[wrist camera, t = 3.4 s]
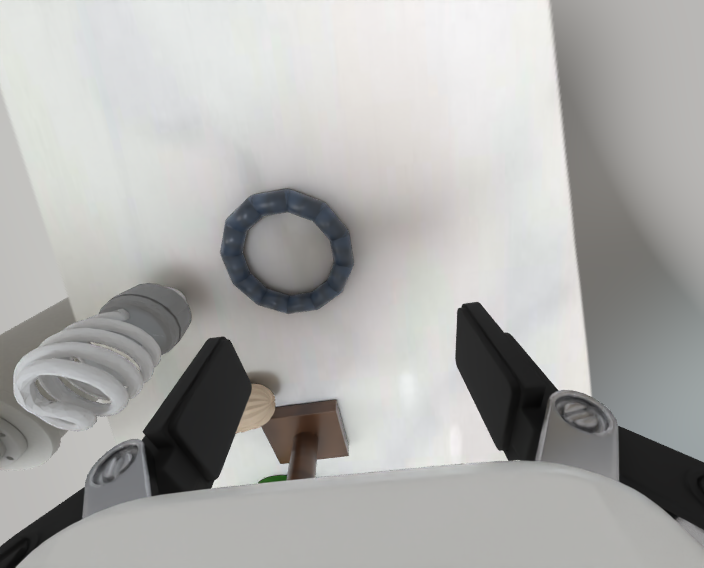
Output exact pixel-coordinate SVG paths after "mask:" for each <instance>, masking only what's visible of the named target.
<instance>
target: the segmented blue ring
mask: <svg viewBox="0 0 704 568" xmlns="http://www.w3.org/2000/svg"><path fill="white" fill-rule="evenodd" d="M285 212H289V213H292V214H295V215H297V216H300V217H303V218H306V219H308V220H311V221H313V222H314V223H315V224H316V225H317V226H318V227H319V228H320V230H321V231H322V232H323V233H324V234H325V235H326V236H327V237H328V239H329V240H330V243H331V248H332V253H333V258H334V264H333V266H332V269H331V272H330V274H329V277H328V279H327V281H326V282H324V283H323V284H322V285H320V286H319V287H318V288H316V289H315V290H314V291H312V292H310V293H304V294H297V295H286V294H283V293H280V292H276V291H273V290H270V289H267V288H266V287H265V286H264V285H263V284H262V283H261V282H260V281H259V280H257V279H256V278H255V277H254V276H253V275H252V274H251V273H250V271H249V268H248V265H247V263H246V260H245V257H244V255H243V248H244V243H245V238H246V233H247V231H248V230H249V229H250V228H251V227H252V226H253V225H254V224H255V223H257V222H258V221H259V220H260V219H261V218H262V217H263V216H267V215H273V214H279V213H285ZM220 254H221V257H222V259H223V261H224V264H225V266H226V269H227V271H228V273H229V276H230V278H231V281H232V283H233V284H234V285H235V286H236V287H237V288H238V289H240V290H241V291H242V292H243V293H244V294H245V295H247V296H248V297H249V298H250V299H251V300H252V301H254V302H255V303H256V304H257V305H260V306H263V307H266V308H270V309H273V310H277V311H280V312H283V313H287V314H291V313H297V312H304V311H311V310H317V309H319V308H321V307H322V306H324V305H325V304H326V303H328V302H329V301H331V300H332V299H333V298H335V297H336V296H338V295H339V294H340V293H341V292H342V291H343V289H344V287H345V285H346V282H347V280H348V277H349V275H350V273H351V270H352V268H353V266H354V259H353V253H352V247H351V241H350V235H349V231H348V229H347V228H346V227H345V226H344V224H343V223H342V222H341V221H340V220H339V218H338V217H337V216H336V215H335V214H334V213H333V211H332V210H331V209H330V208H329V207H328V205H327V204H326V203H324V202H322V201H320V200H317V199H315V198H312V197H309V196H307V195H304V194H302V193H299V192H296V191H294V190H291V189H283V190H278V191H272V192H266V193H260V194H254V195H251V196H250V197H249V198H247V199H246V200H245V201H244V202H243V203H242V204H241V205H240V206H239V207H238V208H237V209H236V210H235V211H234V212H233V213H232V214H231V215H230V216H229V217H228V218H227V219H226V221H225V226H224V232H223V238H222V244H221V251H220Z"/></svg>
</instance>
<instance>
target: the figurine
mask: <svg viewBox="0 0 704 568" xmlns="http://www.w3.org/2000/svg"><path fill="white" fill-rule="evenodd" d="M251 385H252V391H251V395H250V397H249V400H248V402H247V405H246V408H245V410H244V413H243V415H242V418H241V421H240V423H239V426H238V428H237V431H236V434H237V433H239V432H245V431H248V430H251V429H256V428H259V427H261V426H263V425H264V424H266V423H267V422H268V421H269V420H270V418H271V417H272V415H273V414H274V411H275V405H276V404H275V402H274V401H275V396H274V395H273V393H272V391H271V390H270V389H268V388H267V387H265V386H263V385H261V384H251Z"/></svg>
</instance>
